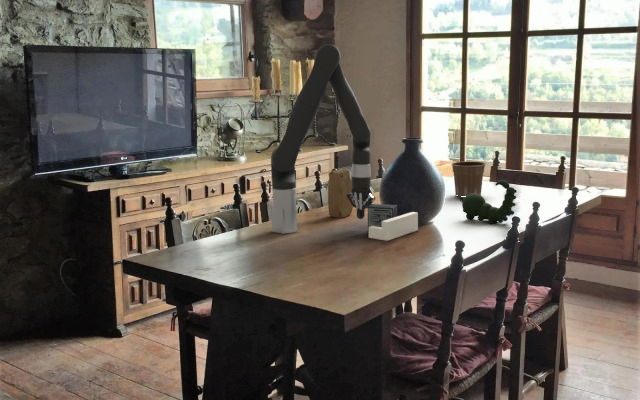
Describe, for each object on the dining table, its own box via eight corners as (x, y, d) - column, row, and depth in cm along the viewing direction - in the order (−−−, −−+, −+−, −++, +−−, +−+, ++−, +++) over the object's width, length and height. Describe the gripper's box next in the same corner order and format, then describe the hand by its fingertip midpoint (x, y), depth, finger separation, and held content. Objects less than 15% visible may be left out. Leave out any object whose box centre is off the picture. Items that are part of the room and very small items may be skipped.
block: (340, 219, 291) (339, 172, 287) (326, 216, 296) (325, 170, 292) (355, 214, 299) (355, 169, 295) (342, 212, 304) (341, 167, 300)
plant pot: (451, 199, 329) (451, 165, 326) (450, 193, 345) (450, 161, 342) (485, 199, 327) (486, 165, 324) (483, 193, 342) (484, 161, 339)
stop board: (387, 240, 253) (387, 222, 251) (368, 237, 258) (368, 219, 257) (417, 230, 268) (417, 212, 267) (399, 227, 273) (399, 210, 272)
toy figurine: (516, 227, 277) (461, 214, 293) (521, 181, 272) (466, 170, 288) (504, 231, 270) (450, 217, 286) (510, 184, 265) (454, 173, 281)
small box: (398, 230, 268) (398, 204, 266) (393, 234, 262) (393, 207, 260) (371, 229, 271) (371, 203, 269) (367, 232, 265) (366, 206, 263)
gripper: (341, 174, 270) (341, 217, 273) (369, 178, 262) (368, 222, 265) (353, 172, 276) (353, 214, 279) (380, 175, 267) (379, 219, 271)
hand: (360, 218), depth 272 cm, fingers closed
